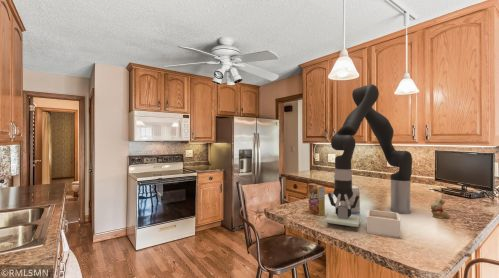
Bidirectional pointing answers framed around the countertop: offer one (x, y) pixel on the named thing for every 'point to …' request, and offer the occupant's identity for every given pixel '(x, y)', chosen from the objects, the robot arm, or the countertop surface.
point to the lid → (343, 217)
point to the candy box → (316, 199)
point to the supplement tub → (357, 208)
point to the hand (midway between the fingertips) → (343, 215)
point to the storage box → (383, 223)
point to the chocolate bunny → (439, 210)
